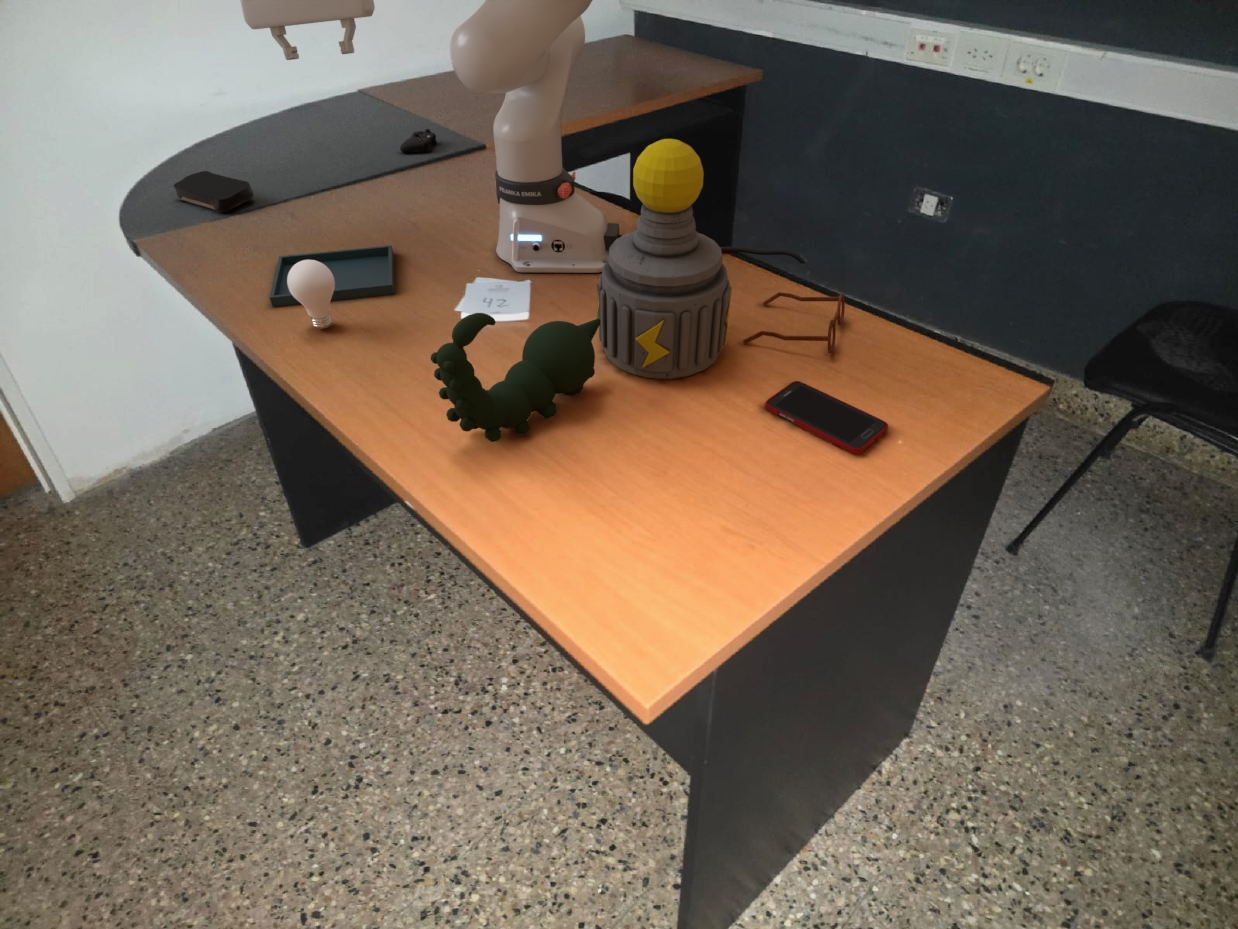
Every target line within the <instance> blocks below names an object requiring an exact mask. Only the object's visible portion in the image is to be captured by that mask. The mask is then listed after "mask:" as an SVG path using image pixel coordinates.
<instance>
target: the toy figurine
mask: <svg viewBox="0 0 1238 929" xmlns="http://www.w3.org/2000/svg"><path fill="white" fill-rule="evenodd" d="M496 323H497V321H496V320H495V318H494V317H493V316H491V315H490V314H488V313H484V312H474V313H470V314H468V315H466V316H464V317H463V318H462V319H460V320H459V321H458V322H456V324H455V325H454V327H453V329H452V331H451V332H452V333H451V339H452V342H447V343H444V344H443V345H441V346H440V347H439V348H438V349H437V351H435V352H433V353H431V355H430V361H431V362H432V364H435V365H437V366H438V368H436V369H435V370H434V371H433V376H434V378H435V379H436V380H437V381H440V382H442V383H443V384H444V387H441V388H440V389H439V391H438V395H439V398H441V400H449V402H451V404H453V405H454V407H450V408H449V409H448V410H447V411H446V415H445V416H446V418H447V420H448V421H449V422H451V423H457V422H459V423H458V424H459V427H460V429H461V430H462V431H464V432H470V431H472V430H477V429H481V430H482V431H484V438H485V439H487V440H488V441H489V442H490V443H496V442H498V441H499V440H500V439H501V438H502V430H501V429H502V428H503V429H513V430H514V432H515V433H516V434H517V435H520V436H522V435H527V434H528V433H529V431H530V429H531V426H530V423H529V421H528V420H529V419H530V418H531V416H532V414H533V413H536V412H537V414H538V415H540V416H541V417H543V419H546V420H549V419H551V418H554V417H555V415H556V414H557V412H558V405H557V403H556V402H554V398H556V394H557V395H560V394H563V395H565V396H570V397H575V396H577V395H580V394H581V393H582V391H583V390H584V387H585V383H586V382H588V380H590V379H591V378H593V377H594V375H595V374H596V373H595V372H596V370H595V362H596V353H595V348H594V344H593V342H592V341H593V338H594V337H595V335H596V333H597V331H598V330H599V325H600V323H601V320H600V319H596V318H595V319H592V320H590V321H587V322H584V323H581V324H579V325H577V324H575V323H573V322H570V321H564V320H553V321H549V322H546V323H543V324H541V325H540V326H538V327H537V328H535V329H534V330H533V331H532V332H531V333H530V334H529V336H528V337H527V338H526V340H525V342H524V344H523V348H522V349H523V350H522V354H521V360H520V361H518V362H516V363H515V364H512V366H511V367H510V368H509V369H508V370H507V372H506V375H505V377H504V379H503V380H501V381H499V382H496V383H494V384H493V385H492V386H491V387H490V389H485V388H484V387H483V384H482V382H481V381H480V379H479V378H478V377H477V375H475V369H474V367H473V364H472V363H471V361H469V360H468V354H467V351H466V350H465V349H464V347H467V346H469V345H470V344H471V343H473V342H474V340H475V339H476V337H477V336H478V334H479V333H480V332H481V331H482V330H483V329H484V328H486V327H487V326H495V325H496Z"/></svg>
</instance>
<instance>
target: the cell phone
mask: <svg viewBox="0 0 1238 929" xmlns="http://www.w3.org/2000/svg"><path fill="white" fill-rule="evenodd" d="M764 408H765V409H766V410H767V411H769V412H771V413H773V414H774V415H777V416H779V417H781V418H783V419H785V420H787V421H789V422H791V423H793V424H794V425H795V426H798V427H800V428H802V429H804V430H806V431H807V432H810V433H812V434H813V435H816V436H818V437H819V438H822V439H823V440H825V441H828V442H830V443H831V444H833V445H835V446H837V447H839V448H841V449H844V450H845V451H847V452H850V453H851V454H853V455H861V454H862V453H864V452H865V451H866V450H867V449H868V448H869V447H871V446H872V443H873V442H875V441H877V440H879V439H880V438H881V437H882V436H883V435H884V434H886V432H887V431H888V430H889V423H888V422H886V421H885V420H884V419H881V418H879V417H877V416H875V415H872V414H870V413H868V412H866V411H864V410H862V409H860V408H858V407H855V406H853V405H851V404H849V403H847V402H845V401H843V400H840V399H839V398H836V397H834V396H832V395H830V394H828V393H826V392H824V391H822V390H820V389H818V388H816V387H813V386H811V385H809V384H807V383H805V382H802V381H799V380H795V381H794V380H793V381H792V382H790V383H788V384H787V385H786V386H784V387H783V388H782V389H780V390H779V391H778V392H776V393H775V394H773V395H772V396H771V397H769V398H768V399H766V400H765V403H764Z"/></svg>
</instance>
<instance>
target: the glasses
mask: <svg viewBox="0 0 1238 929" xmlns="http://www.w3.org/2000/svg"><path fill="white" fill-rule="evenodd" d="M780 297H783V298H790V299H793V300H796V301H799V302H837V306H836V307H837V308H836V311H835V313H834V317H833V319H830V321H829V324H828V329H827V336H826V335H784V334H781V333H778V332H774V331H767V330H761V331H758V332H756V333H754V334H752V335H750V336H748V337H747V338H745V339H743V340H742V342H743V344H744V345H747V344H748V343H750V342H753V341H754V340H757V339H758V338H760V337H763V336H766V337H772V338H776V339H779V340H782V341H795V342H797V341H798V342H799V341H800V342H801V341H802V342H803V341H804V342H827V352H828V354H833V353H834V350H835V345H836V334H837V333H836V332H837V330H836V326H840V327H841V326H842V325H843V323H844V320H845V310H846V308H845V306H846V304H845V303H846V302H845V300H846V299H845V294H844V293H839V295H838V296H799V295H796V294H793V293H790V292H789V293H788V292H780V291H779V292H777V293H775V294H774V295H772V296H771V297H769V298H768V299H766V300H764V301H763V302H762V304H763V306H764V307H766V306H767V305H769V304H770V303H772V302H774V301H775V300H776V299H778V298H780Z"/></svg>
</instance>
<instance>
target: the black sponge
mask: <svg viewBox="0 0 1238 929" xmlns="http://www.w3.org/2000/svg"><path fill="white" fill-rule="evenodd" d="M173 188H174V189H175V192H176V197H177V200H179V201H184V202H186V203H191V204H194V205H197V206H201V207H204V208H207V209H210V210H213V211H215V212H220V213H227V212H229V211H231V210H233V209H234V208H236V207H238V206H240V205H241V204H244V203H246V202H248V201H250V200H251V199H252V198H253V196H254V192H253V189H252V187H251V184H250V183H249V182H248V181H245V180H241V179H237V178H233V177H228V176H225V175H221V174H216V173H213V172H211V171H208V170H202V171H199V172H194V173H192V174H189V175H187V176H184V177H183V178H182V179H181V180H179V181H177V182H175V183H174V184H173Z"/></svg>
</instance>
